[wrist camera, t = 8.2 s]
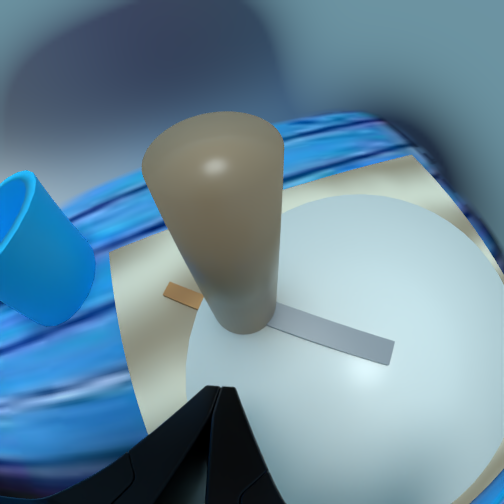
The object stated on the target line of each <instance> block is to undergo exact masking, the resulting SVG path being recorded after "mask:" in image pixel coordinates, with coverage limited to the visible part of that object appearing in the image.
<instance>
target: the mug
mask: <svg viewBox="0 0 504 504" xmlns="http://www.w3.org/2000/svg"><path fill="white" fill-rule="evenodd" d="M95 265H96V262H95V257H94V252H93V249H92V248H91V246H90V245H89V243H88V242H87V241H86V239H85V238H84V237H83V236H82V235H81V234H80V233H79V231H78V230H77V229H76V228H75V227H74V225H73V224H72V223H71V222H70V221H69V219H68V218H67V217H66V216H65V214H64V213H63V212H62V211H61V209H60V208H59V207H58V206H57V204H56V203H55V202H54V200H53V199H52V198H51V196H50V195H49V194H48V192H47V191H46V190H45V189H44V187H43V186H42V184H41V183H40V182H39V180H38V179H37V177H36V176H35V175H34V173H33V172H30V171H27V170H26V171H21V172H17V173H15V174H13V175H12V176H10V177H8V178H7V179H5V180H4V181H3V182H2V183H1V184H0V301H1V302H3V303H4V304H6V305H8V306H9V307H11V308H12V309H14V310H16V311H17V312H19V313H21V314H22V315H24V316H26V317H27V318H29V319H31V320H33V321H35V322H36V323H39V324H41V325H44V326H46V327H47V326H57V325H59V324H61V323H63V322H65V321H67V320H68V319H70V318H71V317H72V316H73V315H74V314H75V313H76V312H77V311H78V310H79V309H80V307H81V306H82V304H83V302H84V301H85V299H86V297H87V296H88V294H89V292H90V289H91V286H92V283H93V280H94V275H95Z"/></svg>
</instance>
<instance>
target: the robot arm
mask: <svg viewBox="0 0 504 504" xmlns="http://www.w3.org/2000/svg"><path fill="white" fill-rule="evenodd" d="M128 452H129V453H128ZM128 452H126V453H125V454H123V455H122V456H121V457H120V458H118V459H117V460H115V461H114V462H113V463H111V464H110V465H108V466H107V467H105V468H104V469H102V470H101V471H99V472H97V473H96V474H94V475H92V476H90V477H89V478H87V479H85V480H83V481H81V482H79V483H77V484H75V485H73V486H71V487H69V488H67V489H65V490H63V491H61V492H58V493H56V494H54V495H51V496H49V497H45V498H40V499H19V498H10V497H3V496H0V504H286V503H285V501H284V499H283V498H282V496H281V494H280V492H279V490H278V488H277V486H276V484H275V482H274V480H273V478H272V476H271V473H270V472H269V469H268V467H267V465H266V462H265V460H264V458H263V455H262V453H261V451H260V448H259V446H258V443H257V441H256V438H255V436H254V434H253V431H252V429H251V426H250V424H249V421H248V418H247V416H246V413H245V411H244V408H243V406H242V403H241V400H240V398H239V395H238V392H237V390H236V388H235V387H230V386H222V387H220V386H213V385H206V386H205V387H204V388H202V389H201V390H200V391H199V392H198V393H197V394H196V395H195V396H194V397H192V398H191V399H190V400H189V401H188V402H187V403H186V404H184V405H183V406H182V407H181V408H180V409H179V410H178V411H176V412H175V413H174V414H173V415H172V416H171V417H169V418H168V419H167V420H166V421H165V422H163V423H162V424H161V425H160V426H159V427H157V428H156V429H155V430H154V431H153V432H151V433H150V434H149V435H148V436H146V437H145V438H144V439H143V440H141V441H140V442H139V443H138V444H136V445H135V446H134V447H133V448H131V449H130V450H129V451H128Z"/></svg>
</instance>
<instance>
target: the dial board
mask: <svg viewBox="0 0 504 504" xmlns="http://www.w3.org/2000/svg"><path fill="white" fill-rule="evenodd" d="M354 194H367V195H378V196H386V197H390V198H395V199H400V200H403V201H406V202H409V203H412V204H415V205H418V206H421V207H423V208H425V209H427V210H429V211H431V212H433V213H435V214H437V215H439V216H440V217H442V218H444V219H445V220H447V221H449V222H450V223H451V224H453V225H454V226H455V227H457V228H458V229H459V230H461V231H462V232H463V233H464V234H465V235H466V236H467V237H469V238H470V239H471V240H472V241H473V242H474V243H475V244H476V245H477V246H478V248H479V249H480V250H481V251H482V252H483V253H484V255H485V256H486V257H487V258H488V260H489V261H490V263H491V264H492V266H493V267H494V269H495V270H496V272H497V273H498V275H499V277H500V279H501V281H502V282H503V284H504V275H503V273H502V271H501V270H500V268H499V266H498V264H497V263H496V261H495V260H494V258H493V256H492V255H491V253H490V252H489V250H488V248H487V247H486V245H485V244H484V242H483V241H482V239H481V238H480V237H479V235H478V234H477V232H476V231H475V229H474V228H473V227H472V225H471V224H470V222H469V221H468V220H467V218H466V217H465V216H464V214H463V213H462V212H461V211H460V209H459V208H458V207H457V205H456V204H455V203H454V202H453V200H452V199H451V198H450V197H449V196H448V194H447V193H446V192H445V191H444V190H443V188H442V187H441V186H440V185H439V184H438V183H437V182H436V180H435V179H434V178H433V177H432V176H431V175H430V174H429V173H428V172H427V170H426V169H425V168H424V167H423V166H422V165H421V164H420V163H419V162H418V161H417V160H416V159H415V158H414V157H413V156H412V155H409V156H405V157H401V158H396V159H392V160H388V161H384V162H380V163H377V164H373V165H369V166H365V167H361V168H357V169H354V170H350V171H346V172H343V173H339V174H336V175H332V176H329V177H325V178H322V179H318V180H315V181H311V182H308V183H305V184H301V185H298V186H295V187H291V188H288V189H285V190H283V191H282V213H281V214H283V213H284V212H286V211H288V210H290V209H293V208H295V207H298V206H300V205H303V204H305V203H308V202H312V201H315V200H319V199H323V198H326V197H333V196H340V195H354ZM109 257H110V267H111V276H112V284H113V291H114V298H115V305H116V311H117V317H118V322H119V328H120V333H121V338H122V343H123V347H124V352H125V356H126V361H127V365H128V369H129V373H130V377H131V380H132V384H133V388H134V391H135V395H136V398H137V402H138V405H139V408H140V411H141V415H142V418H143V421H144V424H145V427H146V430H147V432H148V435H149V434H150V433H151V432H153V431H154V430H155V429H156V428H157V427H159V426H160V425H161V424H162V423H163V422H165V421H166V420H167V419H168V418H169V417H171V416H172V415H173V414H174V413H175V412H176V411H178V410H179V409H180V408H181V407H182V406H183V405H184V404H186V403H187V396H186V360H187V353H188V346H189V339H190V335H191V331H192V328H193V324H194V321H195V318H196V314H197V311H198V309H199V307H200V305H201V302H202V300H203V298H204V296H203V295H202V293H201V291H200V289H199V287H198V285H197V284H196V282H195V280H194V278H193V276H192V274H191V272H190V271H189V269H188V267H187V265H186V263H185V261H184V259H183V257H182V255H181V254H180V252H179V250H178V248H177V246H176V244H175V242H174V240H173V238H172V236H171V234H170V232H169V230H165V231H162V232H160V233H157V234H154V235H152V236H149V237H146V238H144V239H141V240H139V241H136V242H134V243H131V244H129V245H126V246H124V247H121V248H119V249H116V250H114V251H111V252H109ZM503 469H504V438H503V440H502V442H501V444H500V446H499V448H498V450H497V451H496V453H495V455H494V456H493V458H492V459H491V461H490V462H489V464H488V465H487V467H486V468H485V469H484V471H483V472H482V473H481V474H480V476H479V477H478V478H477V479H476V481H475V482H474V483H473V484H472V485H471V486H470V487H469V488H468V489H467V490H466V491H465V492H464V493H463V494H462V495H461V496H460V497H458V498H457V499H456V500H455V501H454V502H452V503H451V504H469V503H470V502H471V501H472V500H474V499H475V498H476V497H477V496H478V495H479V494H480V493H481V492H482V491H483V490H484V489H485V488H486V487H487V486H488V485H489V484H490V483H491V482H492V481H493V480H494V479H495V478H496V476H497V475H498V474H499V473H500V472H501V471H502V470H503Z"/></svg>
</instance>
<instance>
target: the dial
mask: <svg viewBox="0 0 504 504" xmlns="http://www.w3.org/2000/svg"><path fill="white" fill-rule="evenodd" d="M283 165H284V143H283V139H282V137H281V135H280V133H279V132H278V130H277V129H276V128H275V127H274V126H273V125H271V124H270V123H269V122H267V121H265V120H263V119H262V118H259V117H257V116H253V115H250V114H246V113H240V112H213V113H207V114H202V115H198V116H194V117H191V118H189V119H186V120H184V121H181V122H179V123H177V124H175V125H173V126H172V127H170V128H169V129H167V130H165V131H164V132H163V133H162V134H160V135H159V136H158V137H157V138H156V139H155V140H154V141H153V142H152V143H151V145H150V146H149V148H148V149H147V151H146V153H145V155H144V158H143V161H142V174H143V177H144V180H145V182H146V184H147V186H148V188H149V191H150V193H151V195H152V197H153V199H154V201H155V203H156V205H157V207H158V210H159V212H160V214H161V216H162V218H163V220H164V222H165V224H166V226H167V228H168V230H169V232H170V234H171V236H172V238H173V240H174V242H175V244H176V246H177V248H178V250H179V252H180V254H181V255H182V257H183V259H184V261H185V263H186V265H187V267H188V269H189V271H190V272H191V274H192V276H193V278H194V280H195V282H196V284H197V285H198V287H199V289H200V291H201V293H202V295H203V296H204V298H203V300H202V302H201V305H200V307H199V309H198V311H197V314H196V318H195V321H194V324H193V328H192V331H191V335H190V339H189V346H188V353H187V360H186V396H187V402H188V401H189V400H190V399H191V398H192V397H194V396H195V395H196V394H197V393H198V392H199V391H200V390H201V389H202V388H204V387H205V386H206V385H213V386H220V387H222V386H230V387H235V388H236V390H237V392H238V395H239V398H240V400H241V403H242V406H243V408H244V411H245V413H246V416H247V418H248V421H249V424H250V426H251V429H252V431H253V434H254V436H255V438H256V441H257V443H258V446H259V448H260V451H261V453H262V455H263V458H264V460H265V462H266V465H267V467H268V469H269V472H270V473H271V476H272V478H273V480H274V482H275V484H276V486H277V488H278V490H279V492H280V494H281V496H282V498H283V499H284V501H285V503H286V504H451V503H452V502H454V501H455V500H456V499H457V498H458V497H460V496H461V495H462V494H463V493H464V492H465V491H466V490H467V489H468V488H469V487H470V486H471V485H472V484H473V483H474V482H475V481H476V479H477V478H478V477H479V476H480V474H481V473H482V472H483V471H484V469H485V468H486V467H487V465H488V464H489V462H490V461H491V459H492V458H493V456H494V455H495V453H496V451H497V450H498V448H499V446H500V444H501V442H502V440H503V438H504V284H503V282H502V281H501V279H500V277H499V275H498V273H497V272H496V270H495V269H494V267H493V266H492V264H491V263H490V261H489V260H488V258H487V257H486V256H485V255H484V253H483V252H482V251H481V250H480V249H479V248H478V246H477V245H476V244H475V243H474V242H473V241H472V240H471V239H470V238H469V237H467V236H466V235H465V234H464V233H463V232H462V231H461V230H459V229H458V228H457V227H455V226H454V225H453V224H451V223H450V222H449V221H447V220H445V219H444V218H442V217H440V216H439V215H437V214H435V213H433V212H431V211H429V210H427V209H425V208H423V207H421V206H418V205H415V204H412V203H409V202H406V201H403V200H400V199H395V198H390V197H386V196H378V195H367V194H354V195H340V196H333V197H326V198H323V199H319V200H315V201H312V202H308V203H305V204H303V205H300V206H298V207H295V208H293V209H290V210H288V211H286V212H284V213H283V214H281V213H282V191H283Z"/></svg>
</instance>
